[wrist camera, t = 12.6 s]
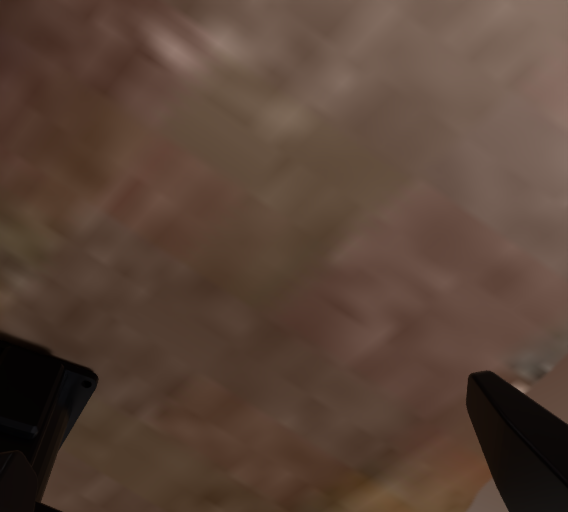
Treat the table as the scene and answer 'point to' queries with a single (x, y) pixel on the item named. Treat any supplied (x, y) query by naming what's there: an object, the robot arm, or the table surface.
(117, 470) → the table surface
